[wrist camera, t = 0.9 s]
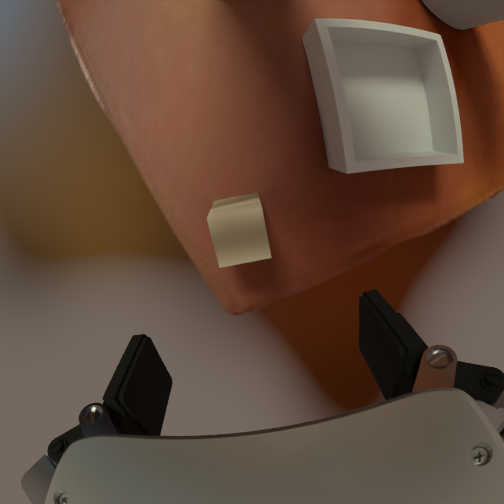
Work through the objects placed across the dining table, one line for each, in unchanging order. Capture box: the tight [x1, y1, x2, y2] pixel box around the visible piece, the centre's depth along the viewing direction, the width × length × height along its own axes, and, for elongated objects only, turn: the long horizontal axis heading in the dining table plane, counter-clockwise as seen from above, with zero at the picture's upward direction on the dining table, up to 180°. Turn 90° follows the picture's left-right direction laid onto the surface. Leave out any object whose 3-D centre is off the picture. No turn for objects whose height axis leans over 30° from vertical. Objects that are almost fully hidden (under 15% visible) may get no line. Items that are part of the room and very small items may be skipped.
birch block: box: [207, 192, 271, 268], centre depth 28 cm, size 5×5×7 cm
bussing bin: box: [302, 18, 464, 174], centre depth 23 cm, size 16×16×6 cm
